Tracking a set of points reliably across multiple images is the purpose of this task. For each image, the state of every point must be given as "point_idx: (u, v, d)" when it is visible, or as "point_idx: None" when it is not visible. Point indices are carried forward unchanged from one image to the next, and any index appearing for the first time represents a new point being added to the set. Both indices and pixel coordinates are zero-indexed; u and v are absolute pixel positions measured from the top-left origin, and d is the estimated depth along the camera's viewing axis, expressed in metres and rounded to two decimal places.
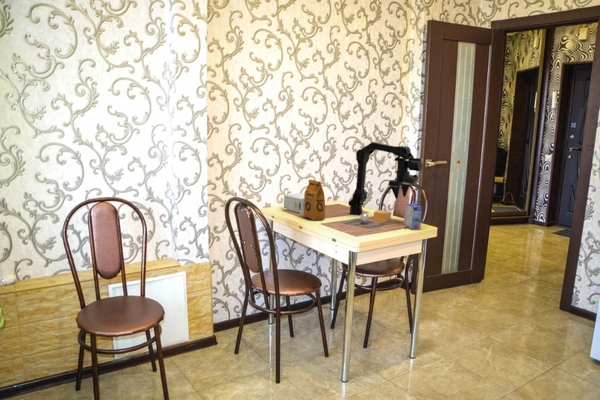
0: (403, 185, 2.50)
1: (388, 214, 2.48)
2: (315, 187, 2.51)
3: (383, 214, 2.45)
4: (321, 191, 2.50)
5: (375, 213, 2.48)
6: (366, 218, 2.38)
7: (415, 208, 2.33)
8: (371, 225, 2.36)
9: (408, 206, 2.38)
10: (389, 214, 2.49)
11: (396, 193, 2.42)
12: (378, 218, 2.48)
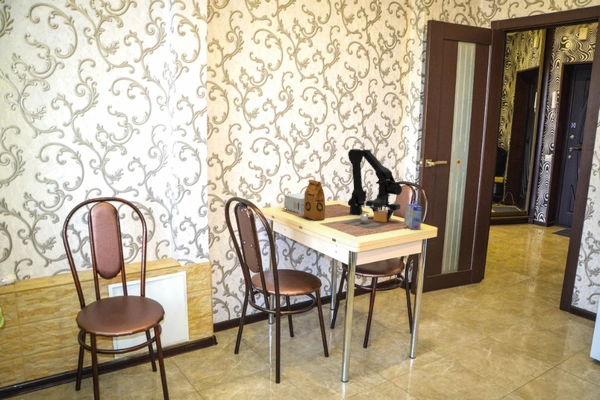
0: None
1: None
2: (315, 187, 2.51)
3: (383, 214, 2.45)
4: (321, 191, 2.50)
5: (375, 213, 2.48)
6: (366, 218, 2.38)
7: (415, 208, 2.33)
8: (371, 225, 2.36)
9: (408, 206, 2.38)
10: None
11: None
12: (378, 218, 2.48)
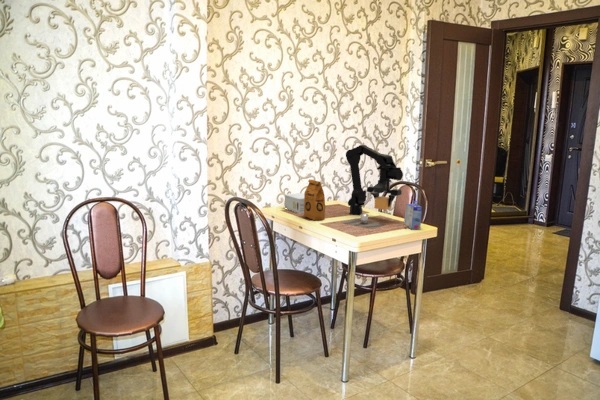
0: None
1: None
2: (315, 187, 2.51)
3: (384, 200, 2.44)
4: (321, 191, 2.50)
5: (376, 199, 2.47)
6: (366, 218, 2.38)
7: (415, 208, 2.33)
8: (371, 225, 2.36)
9: (408, 206, 2.38)
10: None
11: None
12: (379, 204, 2.46)
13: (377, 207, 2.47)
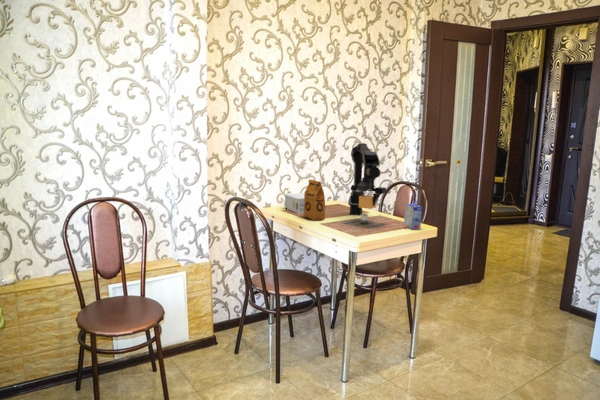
0: None
1: None
2: (315, 187, 2.51)
3: (369, 198, 2.35)
4: (321, 191, 2.50)
5: (360, 197, 2.37)
6: (366, 218, 2.38)
7: (415, 208, 2.33)
8: (371, 225, 2.36)
9: (408, 206, 2.38)
10: None
11: None
12: (363, 203, 2.37)
13: (361, 206, 2.38)
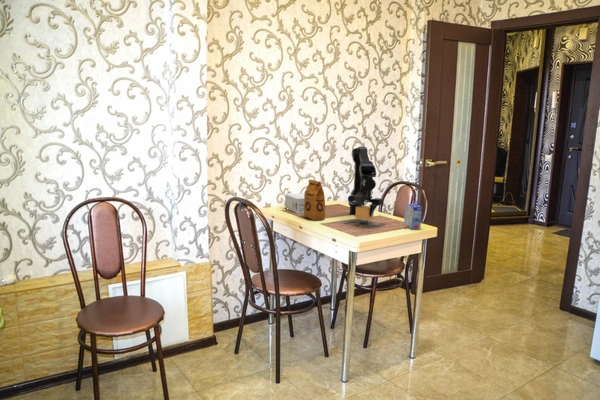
0: None
1: None
2: (315, 187, 2.51)
3: (365, 209, 2.35)
4: (321, 191, 2.50)
5: (357, 208, 2.38)
6: None
7: (415, 208, 2.33)
8: (371, 225, 2.36)
9: (408, 206, 2.38)
10: None
11: None
12: (360, 214, 2.37)
13: (358, 217, 2.38)
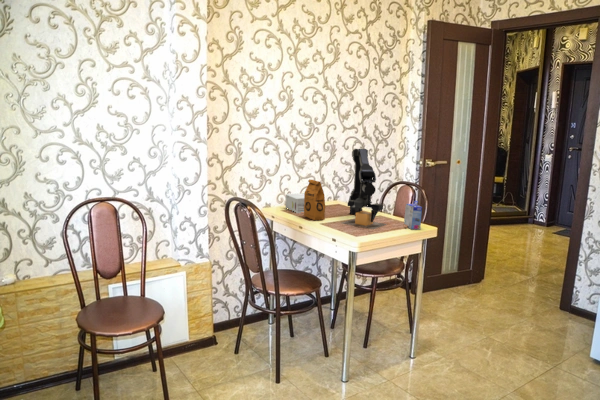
0: None
1: (370, 215, 2.38)
2: (315, 187, 2.51)
3: (365, 215, 2.35)
4: (321, 191, 2.50)
5: (357, 214, 2.38)
6: None
7: (415, 208, 2.33)
8: (371, 225, 2.36)
9: (408, 206, 2.38)
10: None
11: None
12: (360, 220, 2.37)
13: (358, 222, 2.38)
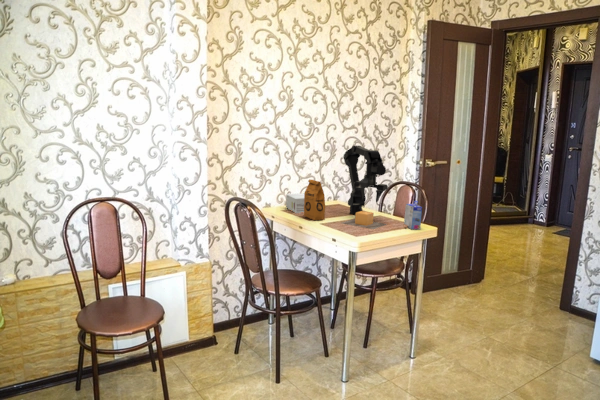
0: None
1: (370, 215, 2.38)
2: (315, 187, 2.51)
3: (365, 215, 2.35)
4: (321, 191, 2.50)
5: (357, 214, 2.38)
6: None
7: (415, 208, 2.33)
8: (371, 225, 2.36)
9: (408, 206, 2.38)
10: (371, 215, 2.39)
11: None
12: (360, 220, 2.37)
13: (358, 222, 2.38)
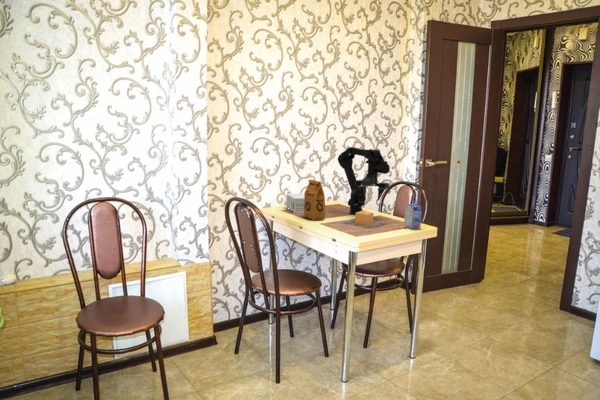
0: None
1: (370, 215, 2.38)
2: (315, 187, 2.51)
3: (365, 215, 2.35)
4: (321, 191, 2.50)
5: (357, 214, 2.38)
6: None
7: (415, 208, 2.33)
8: (371, 225, 2.36)
9: (408, 206, 2.38)
10: (371, 215, 2.39)
11: None
12: (360, 220, 2.37)
13: (358, 222, 2.38)
